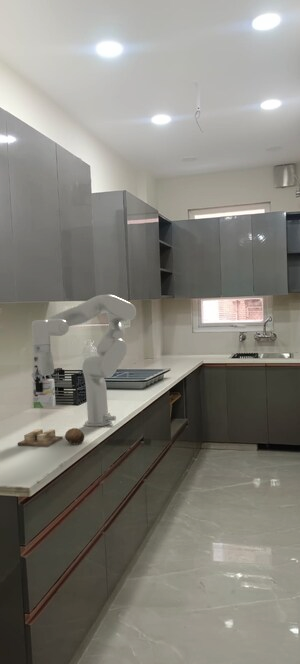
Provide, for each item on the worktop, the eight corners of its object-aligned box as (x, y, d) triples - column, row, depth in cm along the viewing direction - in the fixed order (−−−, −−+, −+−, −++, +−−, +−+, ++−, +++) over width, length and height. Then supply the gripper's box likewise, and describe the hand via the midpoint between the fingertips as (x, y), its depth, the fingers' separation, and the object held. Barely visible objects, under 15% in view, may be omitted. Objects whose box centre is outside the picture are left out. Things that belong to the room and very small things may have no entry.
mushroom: (61, 434, 207) (67, 422, 205) (79, 438, 210) (85, 427, 208) (62, 447, 201) (68, 436, 198) (81, 452, 204) (87, 440, 201)
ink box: (33, 408, 216) (31, 380, 215) (36, 406, 221) (35, 379, 220) (53, 407, 215) (51, 379, 215) (55, 405, 220) (54, 378, 220)
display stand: (33, 437, 217) (33, 428, 217) (62, 438, 213) (61, 429, 213) (17, 445, 206) (16, 435, 206) (47, 446, 201) (47, 436, 201)
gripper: (38, 350, 208) (40, 394, 208) (60, 347, 224) (62, 387, 224) (22, 350, 210) (24, 393, 211) (45, 347, 227) (47, 387, 227)
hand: (43, 390), depth 218 cm, fingers closed on ink box, 6 cm apart
